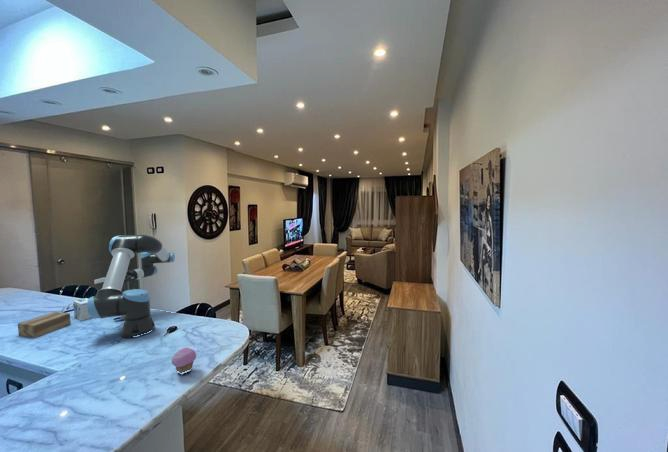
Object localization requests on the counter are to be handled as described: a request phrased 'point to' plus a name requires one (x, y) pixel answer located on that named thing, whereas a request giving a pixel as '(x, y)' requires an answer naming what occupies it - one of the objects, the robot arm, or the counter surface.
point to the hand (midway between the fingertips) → (101, 283)
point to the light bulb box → (81, 309)
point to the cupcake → (184, 359)
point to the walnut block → (43, 324)
